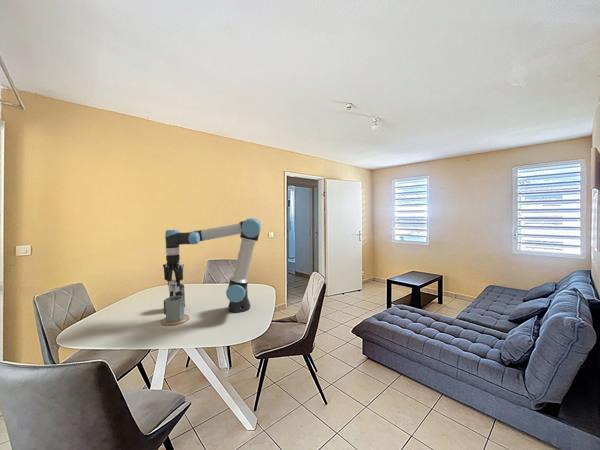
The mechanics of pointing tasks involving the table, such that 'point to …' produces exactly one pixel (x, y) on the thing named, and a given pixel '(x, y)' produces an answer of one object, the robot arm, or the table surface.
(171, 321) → the press carafe
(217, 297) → the table surface
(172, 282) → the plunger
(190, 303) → the table surface
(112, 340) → the table surface
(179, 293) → the canister
